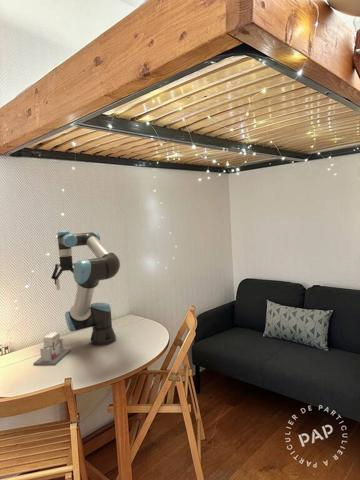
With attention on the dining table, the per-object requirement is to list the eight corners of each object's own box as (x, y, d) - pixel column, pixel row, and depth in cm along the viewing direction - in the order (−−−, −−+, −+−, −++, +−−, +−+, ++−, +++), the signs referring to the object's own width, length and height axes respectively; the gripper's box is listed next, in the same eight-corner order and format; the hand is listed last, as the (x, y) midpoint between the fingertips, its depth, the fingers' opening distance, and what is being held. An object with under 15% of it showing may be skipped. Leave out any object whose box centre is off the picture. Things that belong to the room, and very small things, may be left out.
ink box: (53, 359, 176) (51, 337, 175) (44, 359, 177) (42, 337, 176) (61, 352, 184) (59, 331, 184) (53, 352, 185) (51, 331, 185)
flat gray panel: (70, 351, 189) (69, 335, 188) (55, 365, 171) (53, 347, 170) (51, 351, 190) (49, 335, 190) (33, 365, 173) (31, 348, 172)
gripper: (87, 254, 208) (89, 287, 210) (49, 256, 212) (52, 288, 213) (82, 255, 201) (85, 289, 202) (43, 257, 204) (46, 291, 206)
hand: (68, 289), depth 208 cm, fingers open, 13 cm apart
